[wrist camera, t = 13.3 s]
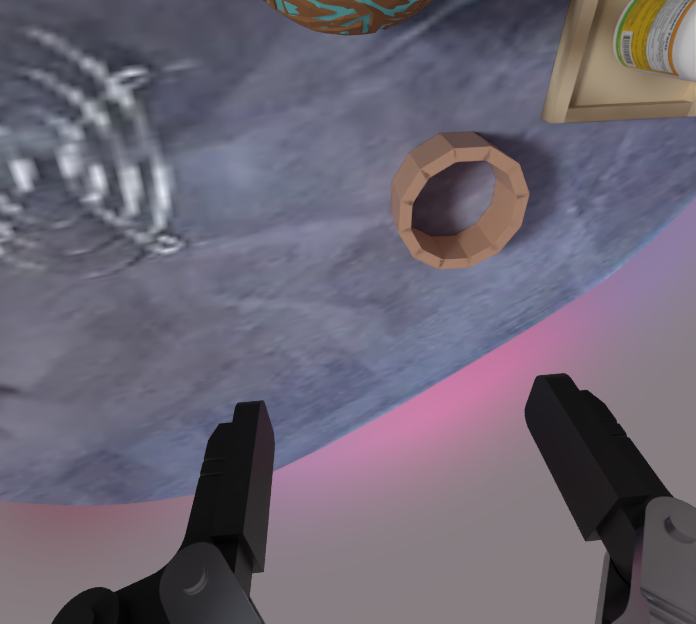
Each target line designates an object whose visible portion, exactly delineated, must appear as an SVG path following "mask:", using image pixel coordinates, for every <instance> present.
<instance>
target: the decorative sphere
mask: <svg viewBox="0 0 696 624" xmlns="http://www.w3.org/2000/svg"><path fill="white" fill-rule="evenodd" d="M263 1H264V2H266V3H267V4H268V5H269V6H271V7H272V8H273V9H275V10H276V11H278V12H279V13H281V14H283V15H284V16H286V17H287V18H289V19H290V20H292V21H294V22H296V23H298V24H300V25H302V26H304V27H307V28H309V29H312V30H314V31H317V32H322V33H330V34H339V35H362V34H371V33H375V32H376V31H377V30H378V29H381V28H382V29H387V28H390V27H392V26H396V25H398V24H399V23H401V22H403V21H405V20H406V19H408V18H410V17H411V16H413V15H415V14H416V13H417V12H419V11H420V10H421V9H423V8H424V7H425V6H427V5H428V4H430V3H431V2H432V0H263Z"/></svg>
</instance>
